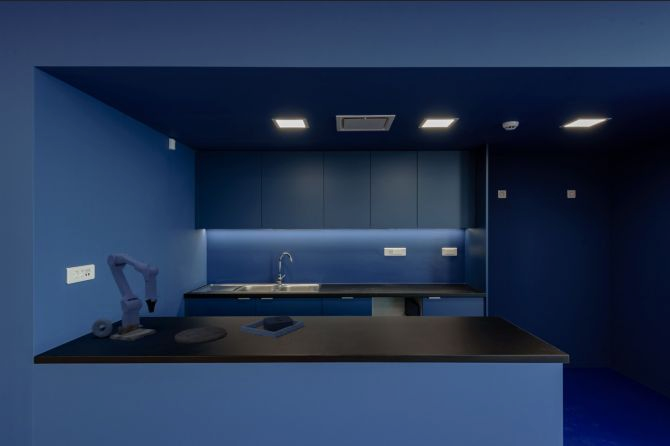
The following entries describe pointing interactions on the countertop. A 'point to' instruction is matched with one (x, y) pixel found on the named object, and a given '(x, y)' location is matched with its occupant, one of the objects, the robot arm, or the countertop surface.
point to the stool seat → (133, 334)
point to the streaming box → (277, 323)
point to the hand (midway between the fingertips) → (151, 312)
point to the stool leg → (128, 328)
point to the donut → (97, 330)
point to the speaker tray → (250, 329)
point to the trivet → (200, 335)
